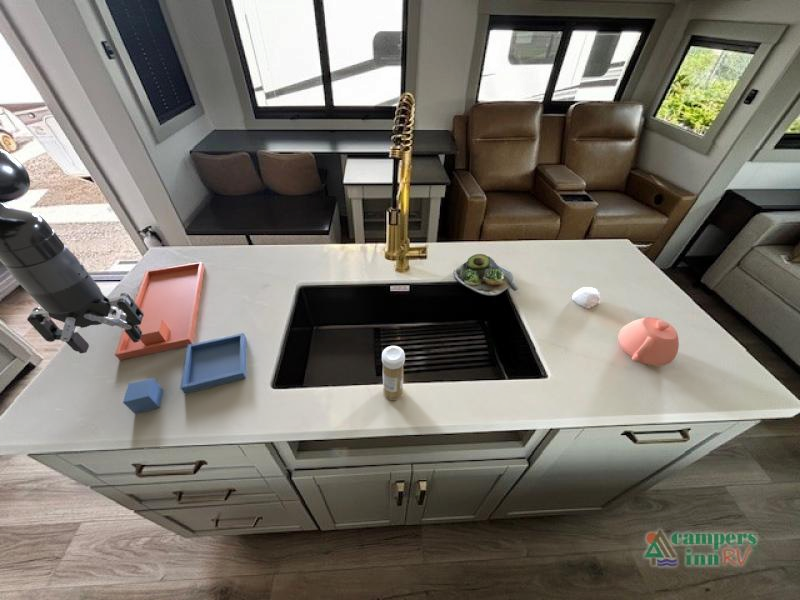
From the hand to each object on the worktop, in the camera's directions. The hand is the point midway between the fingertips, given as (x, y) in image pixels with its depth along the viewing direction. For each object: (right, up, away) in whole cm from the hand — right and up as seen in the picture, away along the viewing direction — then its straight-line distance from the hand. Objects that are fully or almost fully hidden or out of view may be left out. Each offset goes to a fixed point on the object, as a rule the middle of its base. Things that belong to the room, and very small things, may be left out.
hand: (112, 344), depth 62 cm
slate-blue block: (+2, -13, +7) cm, 15 cm away
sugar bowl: (+116, -5, +20) cm, 118 cm away
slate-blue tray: (+12, -7, +14) cm, 20 cm away
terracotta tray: (-9, +7, +28) cm, 30 cm away
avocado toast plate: (+82, +16, +41) cm, 93 cm away
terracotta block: (-5, -1, +18) cm, 19 cm away
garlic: (+111, +8, +34) cm, 116 cm away
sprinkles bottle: (+54, -12, +10) cm, 56 cm away
